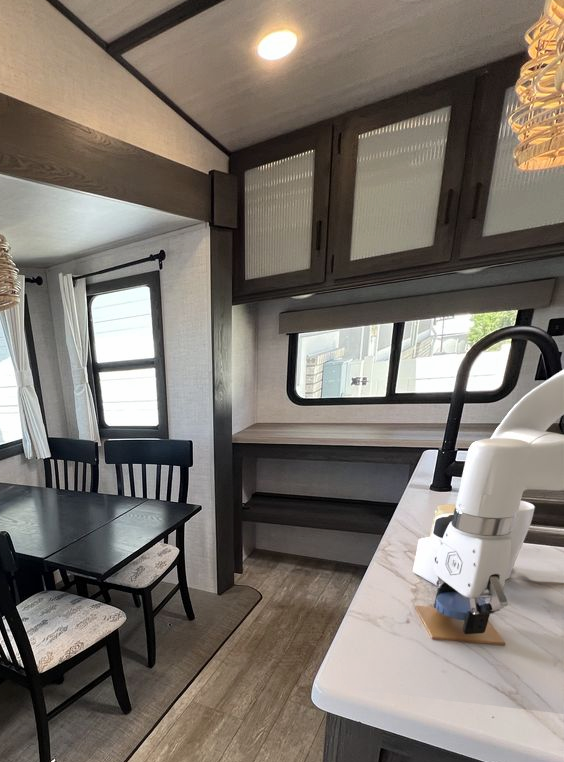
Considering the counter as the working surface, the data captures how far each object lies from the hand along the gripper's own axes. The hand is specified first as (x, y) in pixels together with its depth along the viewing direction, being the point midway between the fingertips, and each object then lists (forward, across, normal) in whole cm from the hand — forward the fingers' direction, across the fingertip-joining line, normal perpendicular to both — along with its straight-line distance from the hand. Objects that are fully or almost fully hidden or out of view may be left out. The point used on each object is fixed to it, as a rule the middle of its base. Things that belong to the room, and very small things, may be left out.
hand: (458, 619), depth 79 cm
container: (+1, -17, +8) cm, 18 cm away
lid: (-3, 0, 0) cm, 3 cm away
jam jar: (+1, -31, +16) cm, 35 cm away
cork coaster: (+1, 0, 0) cm, 1 cm away
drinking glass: (+1, -16, +17) cm, 23 cm away
